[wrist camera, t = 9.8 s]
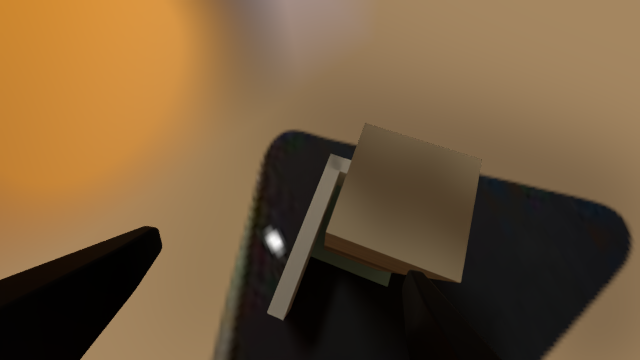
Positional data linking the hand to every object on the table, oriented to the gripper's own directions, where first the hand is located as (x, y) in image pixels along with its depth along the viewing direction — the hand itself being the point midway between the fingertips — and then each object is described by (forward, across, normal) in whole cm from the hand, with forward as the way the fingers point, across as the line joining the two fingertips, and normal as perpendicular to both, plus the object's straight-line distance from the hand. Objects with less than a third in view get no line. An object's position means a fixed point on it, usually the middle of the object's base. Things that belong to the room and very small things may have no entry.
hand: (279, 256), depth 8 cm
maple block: (+12, -4, +7) cm, 14 cm away
